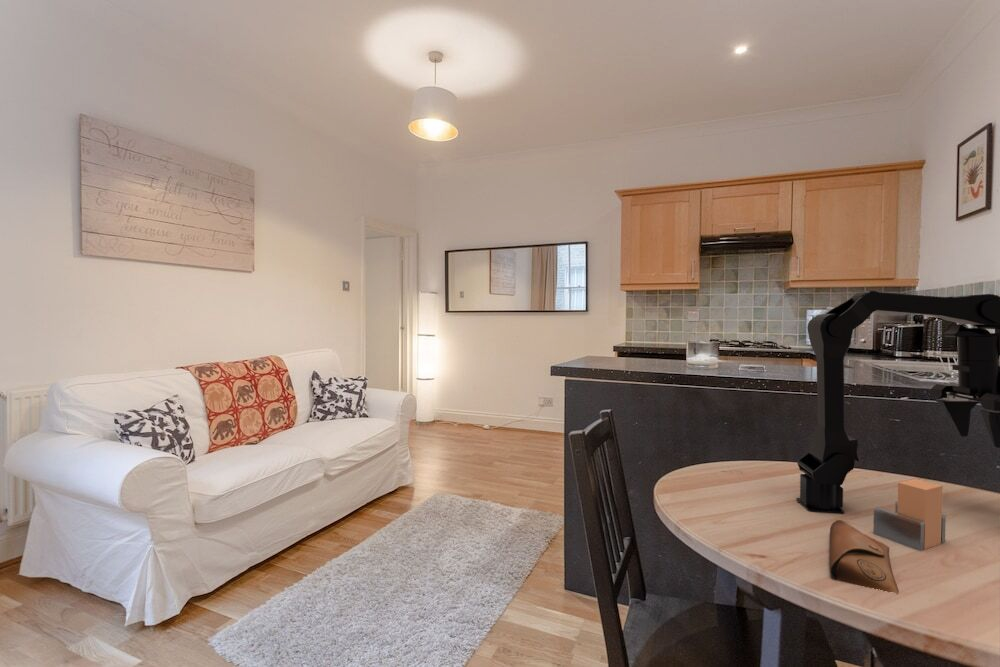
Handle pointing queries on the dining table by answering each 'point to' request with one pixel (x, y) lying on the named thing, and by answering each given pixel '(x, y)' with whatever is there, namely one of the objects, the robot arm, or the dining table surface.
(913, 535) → the silver twin-wall channel
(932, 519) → the block
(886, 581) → the sunglasses case
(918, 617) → the dining table surface
